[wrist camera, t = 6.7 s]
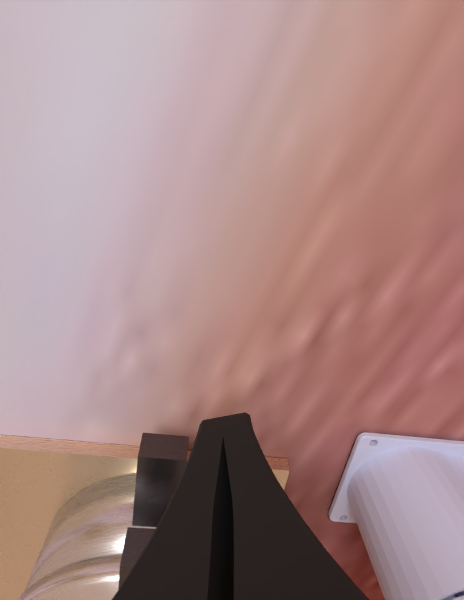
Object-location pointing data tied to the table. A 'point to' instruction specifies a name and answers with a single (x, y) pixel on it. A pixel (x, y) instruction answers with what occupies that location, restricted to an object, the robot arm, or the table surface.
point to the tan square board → (82, 500)
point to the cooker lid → (92, 574)
